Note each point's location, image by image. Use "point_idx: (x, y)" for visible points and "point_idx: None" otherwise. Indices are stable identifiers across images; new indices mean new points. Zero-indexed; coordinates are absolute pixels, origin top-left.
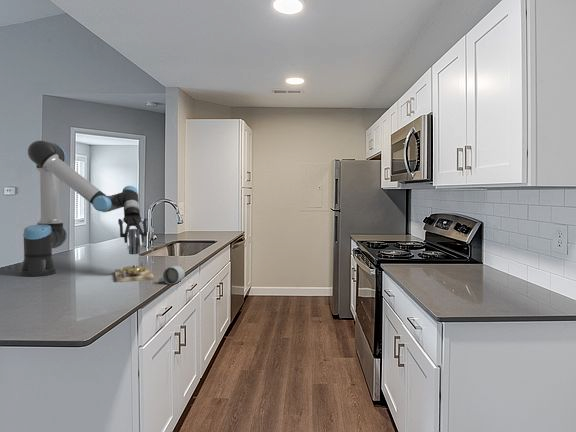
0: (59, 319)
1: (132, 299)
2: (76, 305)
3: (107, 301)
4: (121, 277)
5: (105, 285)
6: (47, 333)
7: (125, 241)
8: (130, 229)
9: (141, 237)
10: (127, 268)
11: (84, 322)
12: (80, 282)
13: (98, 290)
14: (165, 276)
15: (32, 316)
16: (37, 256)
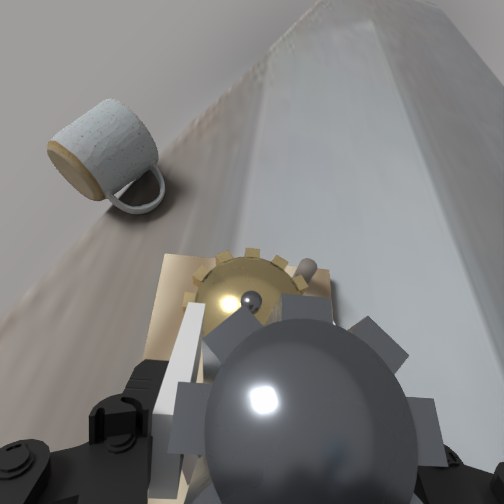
0: (400, 34)
1: (283, 73)
2: (394, 82)
3: (336, 81)
4: (309, 289)
5: (361, 236)
6: (397, 2)
7: None
8: (391, 372)
9: (157, 397)
10: (289, 293)
11: (359, 12)
12: (471, 333)
13: (373, 178)
14: (143, 164)
15: (449, 60)
16: None
